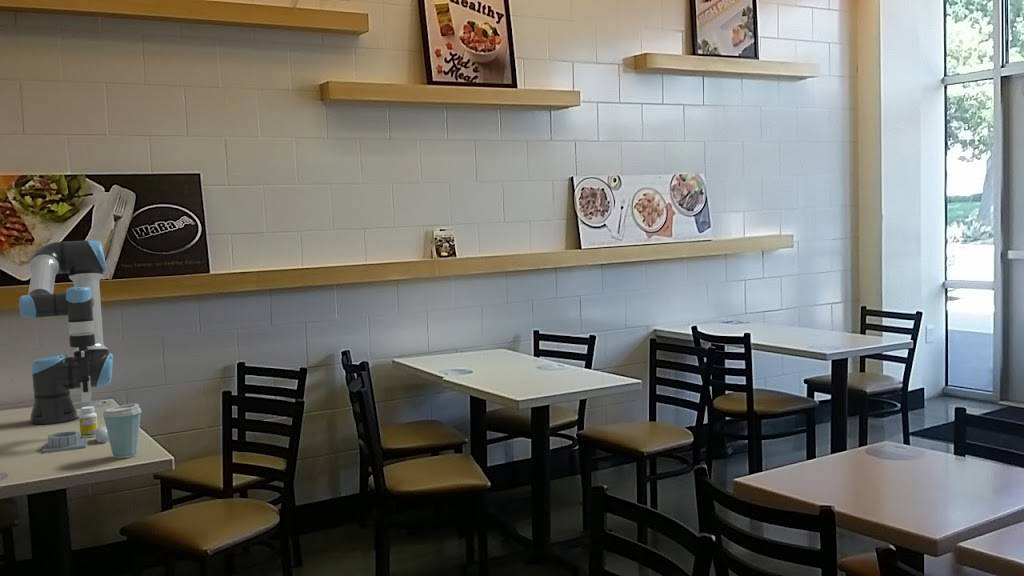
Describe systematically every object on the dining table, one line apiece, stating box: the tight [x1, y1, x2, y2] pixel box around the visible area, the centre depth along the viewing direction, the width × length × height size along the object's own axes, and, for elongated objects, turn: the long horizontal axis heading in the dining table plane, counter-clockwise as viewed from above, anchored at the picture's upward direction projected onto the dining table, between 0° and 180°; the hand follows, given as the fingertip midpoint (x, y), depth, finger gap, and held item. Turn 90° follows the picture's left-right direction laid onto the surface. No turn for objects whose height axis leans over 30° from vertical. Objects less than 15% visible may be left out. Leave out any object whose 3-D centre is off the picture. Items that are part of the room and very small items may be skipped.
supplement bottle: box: [79, 405, 99, 439], centre depth 312 cm, size 5×5×10 cm
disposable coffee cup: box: [102, 403, 142, 459], centre depth 281 cm, size 11×11×15 cm
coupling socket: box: [42, 430, 87, 454], centre depth 298 cm, size 12×12×4 cm
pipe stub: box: [95, 425, 109, 444], centre depth 304 cm, size 8×4×4 cm, turn 24°
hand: (86, 399), depth 311 cm, fingers open, 13 cm apart
